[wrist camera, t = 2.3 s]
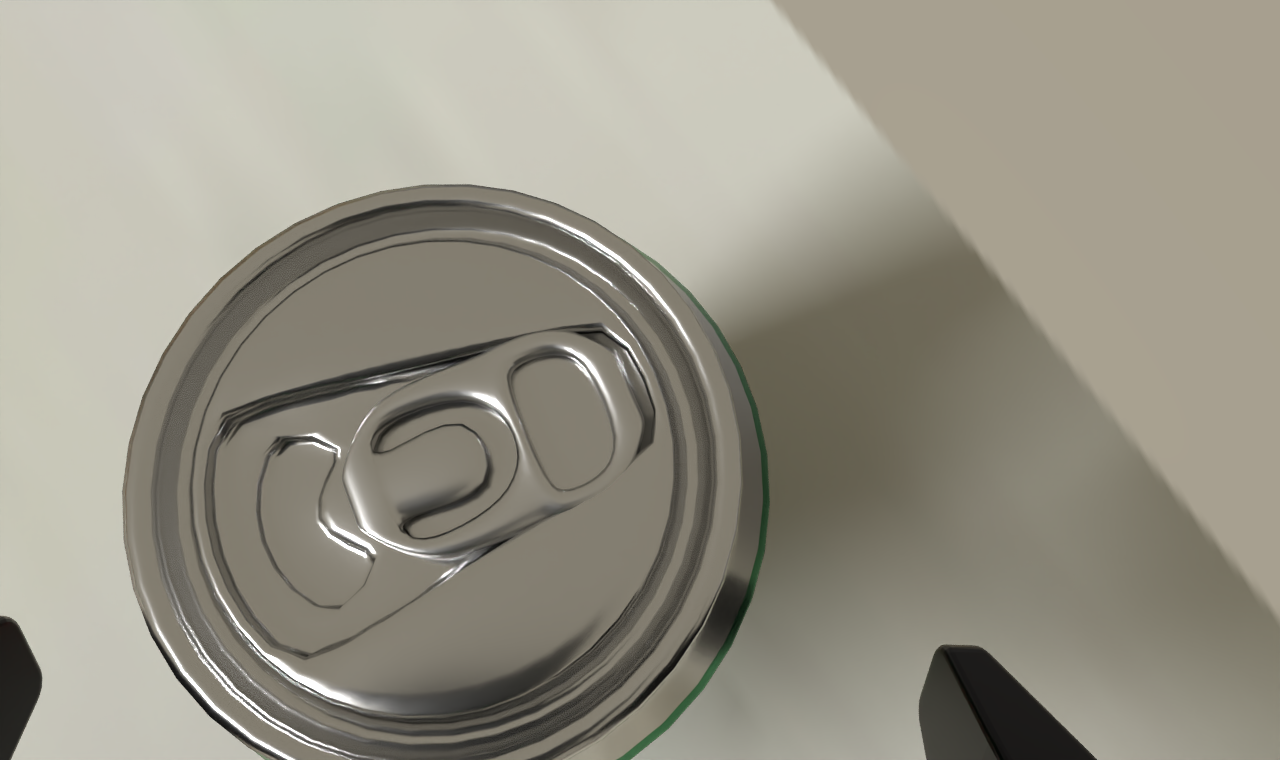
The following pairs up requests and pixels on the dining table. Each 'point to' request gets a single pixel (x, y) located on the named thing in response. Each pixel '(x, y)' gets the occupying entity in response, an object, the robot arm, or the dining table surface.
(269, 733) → the soda can
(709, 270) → the dining table surface
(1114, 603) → the dining table surface
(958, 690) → the robot arm
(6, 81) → the dining table surface
